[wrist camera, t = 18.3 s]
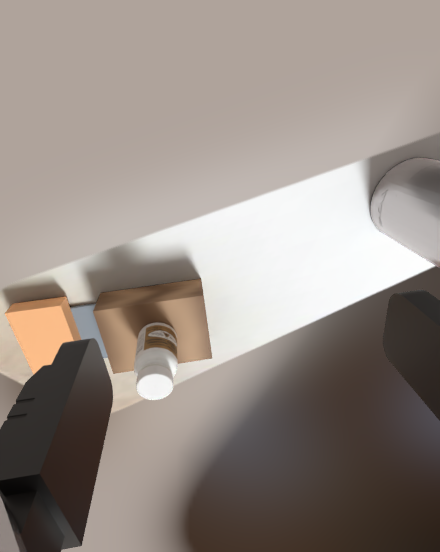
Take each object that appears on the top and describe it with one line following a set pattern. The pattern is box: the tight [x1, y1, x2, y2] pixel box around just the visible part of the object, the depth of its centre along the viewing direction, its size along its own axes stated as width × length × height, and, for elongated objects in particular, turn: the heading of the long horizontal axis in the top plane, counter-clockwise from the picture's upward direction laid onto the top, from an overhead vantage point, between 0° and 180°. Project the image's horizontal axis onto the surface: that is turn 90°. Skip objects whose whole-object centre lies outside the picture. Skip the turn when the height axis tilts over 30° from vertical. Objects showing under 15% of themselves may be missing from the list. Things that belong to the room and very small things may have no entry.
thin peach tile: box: [5, 297, 81, 374], centre depth 39 cm, size 6×9×2 cm, turn 5°
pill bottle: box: [134, 322, 178, 400], centre depth 34 cm, size 4×4×8 cm
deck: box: [93, 279, 212, 374], centre depth 40 cm, size 12×9×4 cm
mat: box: [70, 303, 108, 358], centre depth 41 cm, size 8×8×1 cm
